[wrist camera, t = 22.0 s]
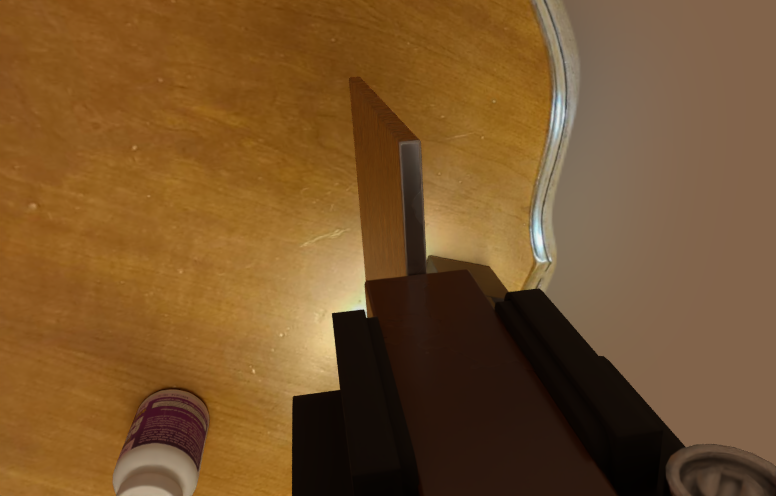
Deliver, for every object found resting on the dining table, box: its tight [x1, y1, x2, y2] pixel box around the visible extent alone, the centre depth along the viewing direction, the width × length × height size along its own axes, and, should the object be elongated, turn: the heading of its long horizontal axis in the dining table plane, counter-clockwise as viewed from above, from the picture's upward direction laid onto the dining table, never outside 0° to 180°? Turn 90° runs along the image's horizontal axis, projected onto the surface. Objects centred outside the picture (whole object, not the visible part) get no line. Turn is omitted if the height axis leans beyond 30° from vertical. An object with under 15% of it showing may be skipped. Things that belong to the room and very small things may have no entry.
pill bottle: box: [113, 389, 209, 496], centre depth 43 cm, size 5×5×10 cm
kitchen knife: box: [349, 77, 619, 496], centre depth 14 cm, size 8×2×18 cm, turn 4°
